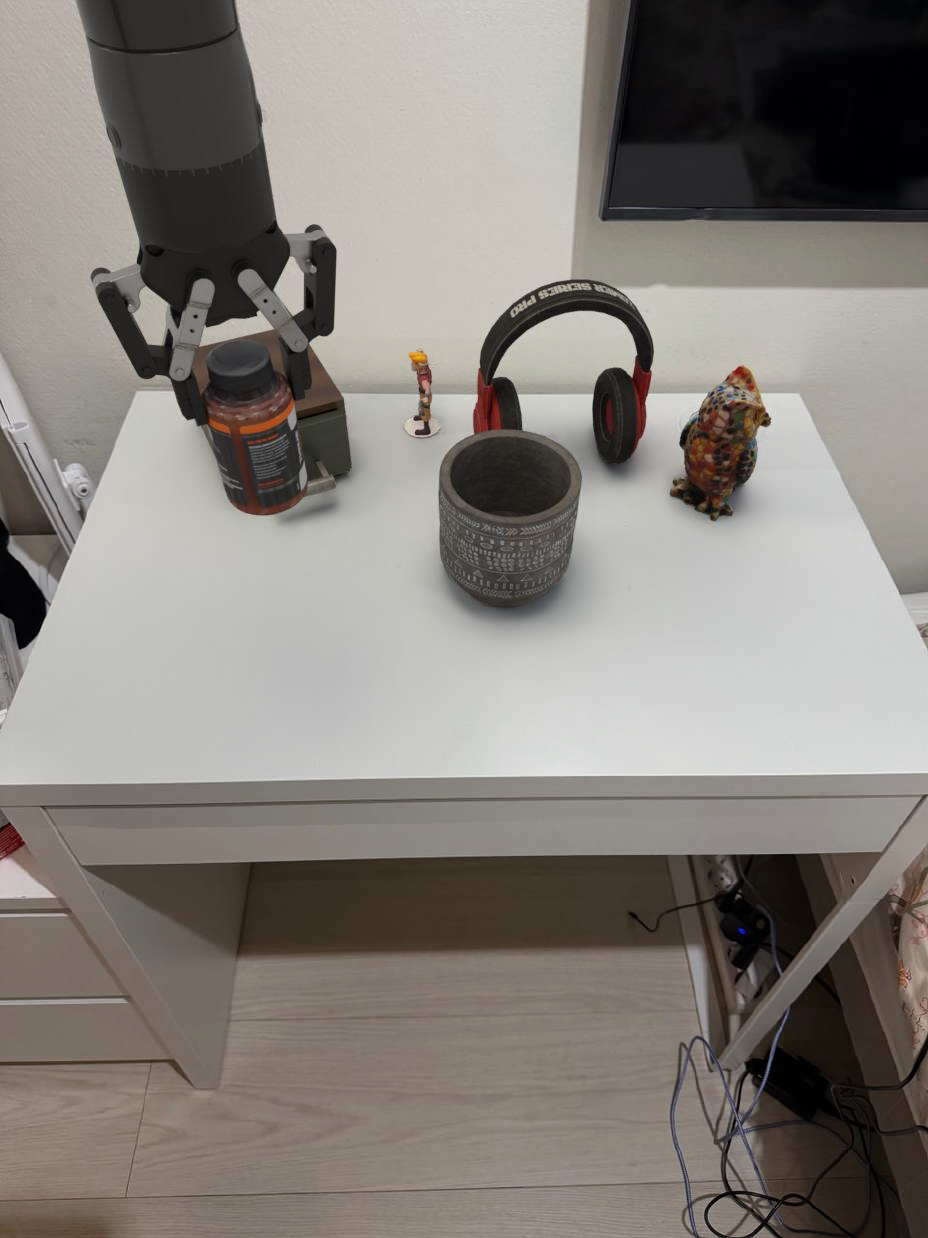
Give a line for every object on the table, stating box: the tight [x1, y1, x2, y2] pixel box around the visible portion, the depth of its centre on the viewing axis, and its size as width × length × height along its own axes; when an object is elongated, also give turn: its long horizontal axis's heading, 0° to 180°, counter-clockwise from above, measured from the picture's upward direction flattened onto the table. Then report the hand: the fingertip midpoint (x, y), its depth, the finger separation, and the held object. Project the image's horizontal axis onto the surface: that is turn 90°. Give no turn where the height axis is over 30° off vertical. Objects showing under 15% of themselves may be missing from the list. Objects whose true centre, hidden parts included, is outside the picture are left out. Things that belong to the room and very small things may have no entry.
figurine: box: [669, 364, 772, 522], centre depth 83 cm, size 9×9×15 cm
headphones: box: [472, 278, 655, 465], centre depth 84 cm, size 18×10×20 cm, turn 99°
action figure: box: [403, 347, 440, 438], centre depth 91 cm, size 12×3×9 cm, turn 5°
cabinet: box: [191, 328, 353, 470], centre depth 90 cm, size 15×13×9 cm
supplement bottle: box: [201, 340, 308, 517], centre depth 57 cm, size 6×6×11 cm
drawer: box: [297, 409, 351, 498], centre depth 87 cm, size 18×12×7 cm, turn 26°
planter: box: [437, 429, 583, 609], centre depth 76 cm, size 12×12×13 cm
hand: (248, 405), depth 56 cm, fingers closed on supplement bottle, 6 cm apart
